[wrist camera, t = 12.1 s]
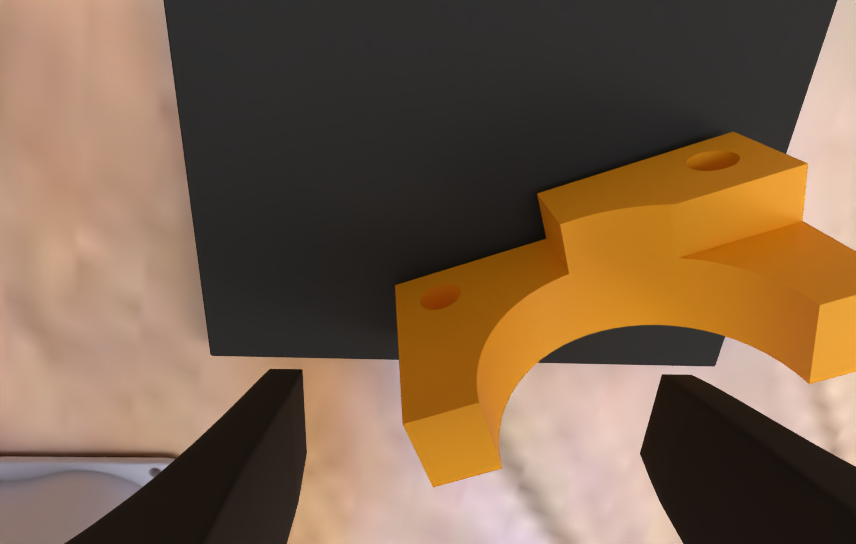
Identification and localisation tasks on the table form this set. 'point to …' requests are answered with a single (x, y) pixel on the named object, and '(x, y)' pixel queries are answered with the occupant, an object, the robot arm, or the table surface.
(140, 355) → the table surface
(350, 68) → the mat
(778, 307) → the pipe clamp
